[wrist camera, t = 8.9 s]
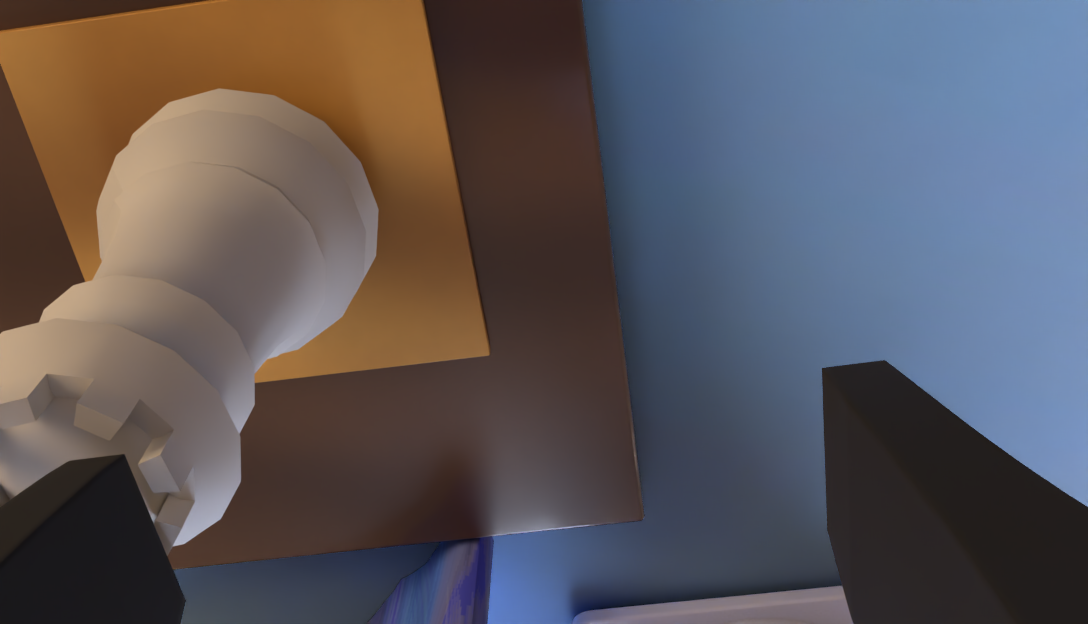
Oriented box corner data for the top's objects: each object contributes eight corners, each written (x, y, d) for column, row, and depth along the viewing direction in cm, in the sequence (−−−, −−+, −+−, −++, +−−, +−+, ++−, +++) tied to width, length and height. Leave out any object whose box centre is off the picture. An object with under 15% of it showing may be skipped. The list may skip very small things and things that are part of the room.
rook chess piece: (77, 217, 18) (-224, 512, 11) (214, 22, 17) (-37, 223, 10) (289, 362, 20) (139, 706, 13) (435, 195, 18) (357, 482, 11)
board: (641, 492, 22) (646, 529, 21) (-227, 584, 24) (-263, 622, 23) (553, -235, 16) (553, -233, 15) (-635, -46, 17) (-711, -33, 16)
